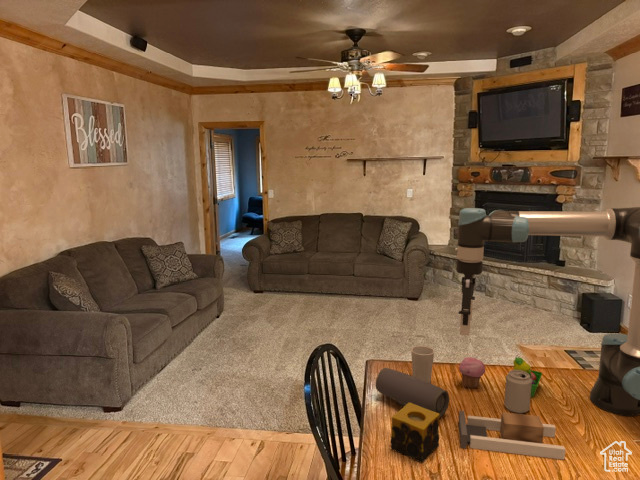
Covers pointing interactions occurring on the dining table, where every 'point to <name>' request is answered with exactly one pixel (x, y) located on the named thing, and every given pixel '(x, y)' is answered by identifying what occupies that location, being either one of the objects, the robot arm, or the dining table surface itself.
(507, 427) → the block
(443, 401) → the bluetooth speaker
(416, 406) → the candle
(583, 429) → the dining table surface
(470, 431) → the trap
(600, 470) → the dining table surface
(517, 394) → the can
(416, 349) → the cup
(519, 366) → the fruit basket
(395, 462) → the dining table surface
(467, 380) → the cupcake
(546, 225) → the robot arm
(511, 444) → the channel
